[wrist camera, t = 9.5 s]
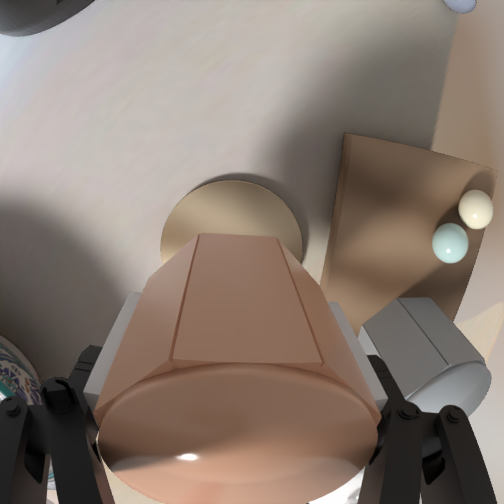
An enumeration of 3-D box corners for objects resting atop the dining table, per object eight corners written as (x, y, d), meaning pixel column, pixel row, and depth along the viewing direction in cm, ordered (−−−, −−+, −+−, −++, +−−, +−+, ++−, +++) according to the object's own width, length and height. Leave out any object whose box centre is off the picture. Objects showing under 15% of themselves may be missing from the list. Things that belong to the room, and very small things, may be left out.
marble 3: (464, 184, 19) (498, 205, 17) (469, 180, 21) (500, 199, 19) (449, 220, 20) (481, 240, 19) (456, 213, 22) (485, 231, 21)
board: (344, 132, 20) (352, 134, 19) (486, 166, 22) (497, 170, 20) (302, 364, 28) (305, 377, 27) (426, 355, 29) (433, 365, 28)
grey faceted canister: (369, 297, 24) (422, 376, 15) (450, 296, 25) (508, 358, 16) (344, 376, 27) (374, 455, 19) (419, 368, 28) (458, 433, 20)
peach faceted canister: (145, 230, 14) (61, 362, 6) (328, 240, 15) (422, 370, 7) (156, 368, 18) (129, 505, 9) (300, 373, 18) (334, 507, 10)
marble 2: (434, 219, 20) (467, 242, 18) (449, 212, 21) (479, 232, 20) (419, 253, 22) (449, 276, 20) (436, 243, 23) (463, 264, 21)
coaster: (162, 176, 21) (160, 178, 20) (309, 186, 22) (311, 187, 21) (164, 304, 25) (163, 309, 24) (290, 310, 26) (292, 314, 25)
